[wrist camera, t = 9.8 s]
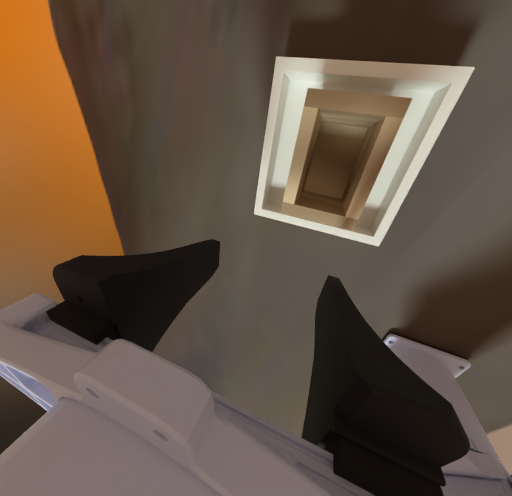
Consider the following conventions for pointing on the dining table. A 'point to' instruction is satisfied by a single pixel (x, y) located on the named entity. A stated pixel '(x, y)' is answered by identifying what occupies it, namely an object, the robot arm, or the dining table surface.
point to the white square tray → (402, 149)
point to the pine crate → (340, 154)
